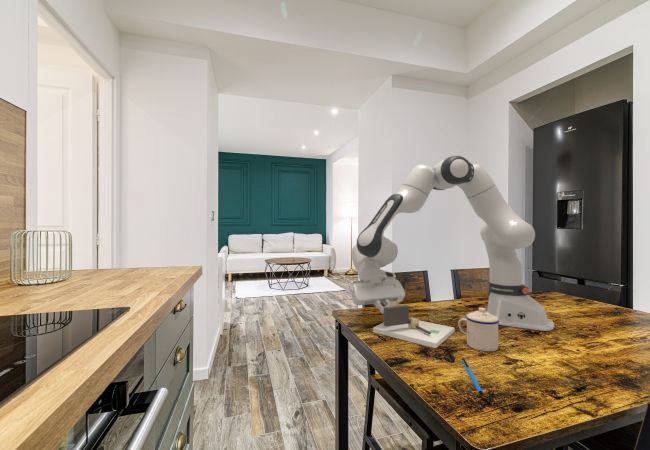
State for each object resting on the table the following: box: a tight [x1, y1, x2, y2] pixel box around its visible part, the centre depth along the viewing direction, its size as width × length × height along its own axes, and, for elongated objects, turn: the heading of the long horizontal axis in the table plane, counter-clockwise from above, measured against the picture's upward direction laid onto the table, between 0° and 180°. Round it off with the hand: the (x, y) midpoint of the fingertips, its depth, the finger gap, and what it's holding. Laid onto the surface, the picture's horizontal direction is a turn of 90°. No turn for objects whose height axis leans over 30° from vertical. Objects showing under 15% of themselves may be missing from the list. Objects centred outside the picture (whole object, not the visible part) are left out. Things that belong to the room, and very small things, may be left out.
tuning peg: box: [383, 304, 431, 334], centre depth 102 cm, size 13×10×8 cm
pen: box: [461, 358, 484, 398], centre depth 76 cm, size 1×19×1 cm, turn 168°
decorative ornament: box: [384, 298, 404, 307], centre depth 136 cm, size 4×8×5 cm, turn 42°
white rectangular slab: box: [372, 319, 456, 349], centre depth 107 cm, size 22×18×2 cm
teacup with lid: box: [458, 307, 499, 352], centre depth 96 cm, size 12×9×12 cm
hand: (386, 312), depth 107 cm, fingers closed
